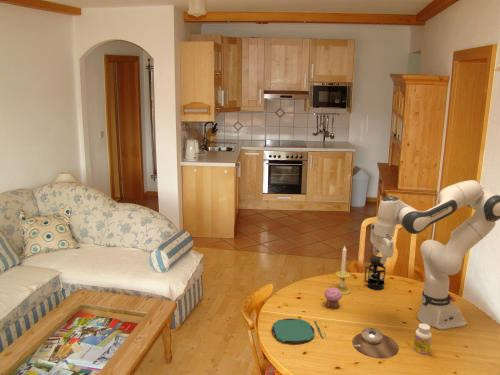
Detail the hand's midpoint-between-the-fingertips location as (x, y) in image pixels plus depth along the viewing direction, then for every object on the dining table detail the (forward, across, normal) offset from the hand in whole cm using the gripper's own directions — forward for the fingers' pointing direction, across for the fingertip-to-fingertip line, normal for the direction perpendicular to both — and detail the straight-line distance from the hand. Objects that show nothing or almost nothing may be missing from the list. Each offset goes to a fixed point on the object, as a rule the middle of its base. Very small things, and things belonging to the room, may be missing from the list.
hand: (378, 258), depth 212 cm
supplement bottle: (+33, -24, -17) cm, 44 cm away
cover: (+33, -14, +2) cm, 36 cm away
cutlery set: (+38, -4, +31) cm, 50 cm away
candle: (+35, +36, +2) cm, 50 cm away
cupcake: (+36, +19, +11) cm, 42 cm away
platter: (+34, -19, +2) cm, 39 cm away
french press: (+33, +39, -18) cm, 55 cm away
